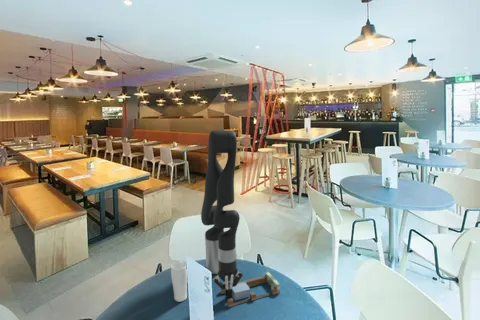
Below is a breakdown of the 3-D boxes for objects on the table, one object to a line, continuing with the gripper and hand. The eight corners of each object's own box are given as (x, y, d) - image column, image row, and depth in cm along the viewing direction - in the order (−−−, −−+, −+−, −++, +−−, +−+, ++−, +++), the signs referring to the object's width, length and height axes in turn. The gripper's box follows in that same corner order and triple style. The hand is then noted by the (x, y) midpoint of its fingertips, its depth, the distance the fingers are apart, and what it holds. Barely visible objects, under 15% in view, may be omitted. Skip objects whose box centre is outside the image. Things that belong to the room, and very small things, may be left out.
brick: (230, 294, 116) (230, 285, 115) (245, 290, 118) (245, 282, 118) (234, 301, 111) (234, 292, 110) (250, 297, 113) (250, 289, 113)
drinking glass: (172, 304, 108) (170, 270, 106) (172, 294, 115) (170, 262, 113) (189, 301, 110) (188, 267, 108) (188, 292, 117) (186, 260, 115)
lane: (220, 291, 116) (220, 283, 116) (268, 279, 125) (268, 271, 124) (228, 307, 106) (228, 298, 106) (280, 292, 115) (280, 284, 114)
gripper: (239, 250, 115) (239, 287, 118) (209, 256, 111) (210, 294, 113) (245, 258, 108) (246, 297, 111) (214, 264, 104) (215, 305, 106)
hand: (228, 296), depth 112 cm, fingers closed
